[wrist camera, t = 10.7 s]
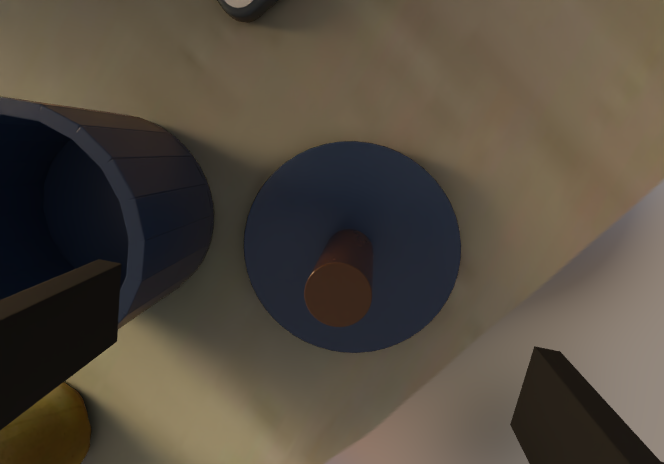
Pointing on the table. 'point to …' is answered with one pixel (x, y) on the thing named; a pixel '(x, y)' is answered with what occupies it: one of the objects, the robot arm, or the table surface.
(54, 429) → the mug
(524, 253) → the table surface
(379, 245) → the lid
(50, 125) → the tin
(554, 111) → the table surface
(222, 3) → the phone case
